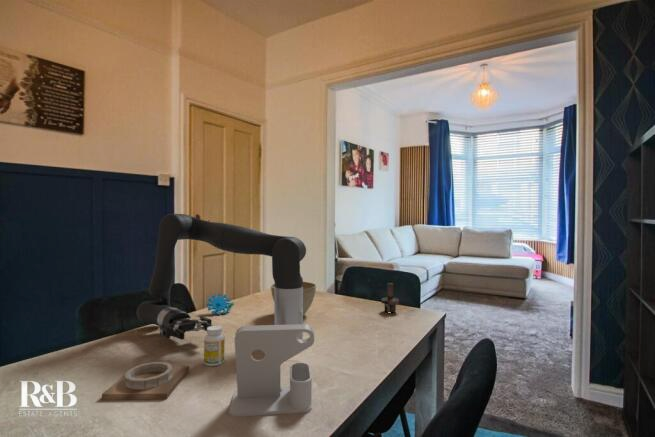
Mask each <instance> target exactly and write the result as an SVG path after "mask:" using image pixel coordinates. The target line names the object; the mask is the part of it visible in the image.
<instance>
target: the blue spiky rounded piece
mask: <svg viewBox="0 0 655 437" xmlns="http://www.w3.org/2000/svg"><path fill="white" fill-rule="evenodd" d="M212 298H213V299H212ZM230 301H231V298H230V297H228V298H227V295H226V294H223V296H222V293H218V294H217V297H216V293H215V294H212V295H211V297H210V296H209V297H208V298H207V302H206V304H205V305H206V306H208V307H207V311H209V312H210V311H211V312H210V313H211V314H212V315H215V313H216V312H217V314H216V315H217V316H221V315H227V313H228V312H229V311H231V309H232V307H233V306H235V301H232V302H230ZM226 310H227V311H226ZM221 311H223V312H221ZM221 313H222V314H221Z"/></svg>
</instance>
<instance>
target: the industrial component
mask: <svg viewBox="0 0 655 437" xmlns="http://www.w3.org/2000/svg"><path fill="white" fill-rule="evenodd" d="M393 290H394V283H392V282H388V283H387V297H382V298H381V304H384V312H385V311H386V312H385V313H388V312H395V311H396V312H397V306H398V305H399V304H400V299H399V298H397V297H393V296H394V293H393V292H394V291H393ZM396 312H395V313H396Z"/></svg>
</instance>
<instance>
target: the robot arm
mask: <svg viewBox="0 0 655 437" xmlns="http://www.w3.org/2000/svg"><path fill="white" fill-rule="evenodd" d="M158 227H159V228H158V236H157V245H156V256H155V263H154V267H153V268H154V269H153V271H152V272H153V273H152V276H151V280H150V283H149V286H148V294H149V295H151V296H152V297H155V298H159V300H146V301H143V302H141V303H140V304H139V305H138V306H137V309H136V316H137V318H138V320H139V321H140V322H142V323H144V324H148V325H149V324H150V325H154V326H155V325H156V326H158V327H159V335H160V336H162V337H163V338H164V339H171V337H172V338H173V339H175V338H176V339H179V340H181V341H182V340H185V333H186V332H187V333H188V332H199V331H204V332H207V328H208V327H210V326H214V325H213V324H212V321H213V320H212V319H211V318H208V317H205V316H199V318H192V317H191V316H190V314H189V313H188V312H186V311H184V310H181V309H178V308H177V307H172V306H171V302H170V301H171V289H172V286H173V282H174V278H175V272H176V271H175V263H174V251H175V247H176V244H177V242H178V241H179V240H193V241H200V242H204V243H207V244H210V246H212V247H214V248H216V249H219V250H222V251H225V252H228V253H232V254H233V253H234V254H242V255H262V256H268V257H271V271H272V278H273V281H274V284H275V301H274V300H273V302H274V305H273V307H274V312H273V313H274V315H273V317H274V322H273V325H295V324H304V315H303V282H304V280H303V277H302V275H301V263H300V262H301V261H303V260H304V258H305V256H306V254H307V247H306V245H305V243H304V241H303V240H301V239H300V238H298V237H295V236H287V235H286V236H284V235H276V234H270V233H265V232H262V231H259V230H257V229H256V230H255V229H253V228H249V227H243V226H241V225H236V224H231V223H223V222H217V221H216V222H215V221H213V222H212V221H207V220H203V219H200V218H198V217H195V216H191V215H190V214H189V215H188V214H186V213H168V214H166V215H164V216H163V217H162V219H161V220H160V223H159V226H158ZM303 336H304V332H301V333H299V334H298V335H297V338H298V339H300V340H304V339H303Z"/></svg>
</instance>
